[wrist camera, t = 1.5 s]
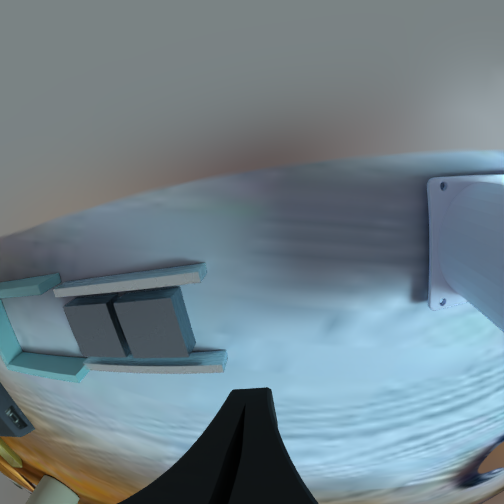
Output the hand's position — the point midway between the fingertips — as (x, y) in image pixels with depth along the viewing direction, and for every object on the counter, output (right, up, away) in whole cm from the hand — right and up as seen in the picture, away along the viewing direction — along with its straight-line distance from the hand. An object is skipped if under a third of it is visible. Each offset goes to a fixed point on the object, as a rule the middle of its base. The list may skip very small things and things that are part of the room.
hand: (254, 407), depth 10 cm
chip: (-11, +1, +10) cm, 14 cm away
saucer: (-49, -34, +23) cm, 64 cm away
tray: (-18, -1, +10) cm, 21 cm away
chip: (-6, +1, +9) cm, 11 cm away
